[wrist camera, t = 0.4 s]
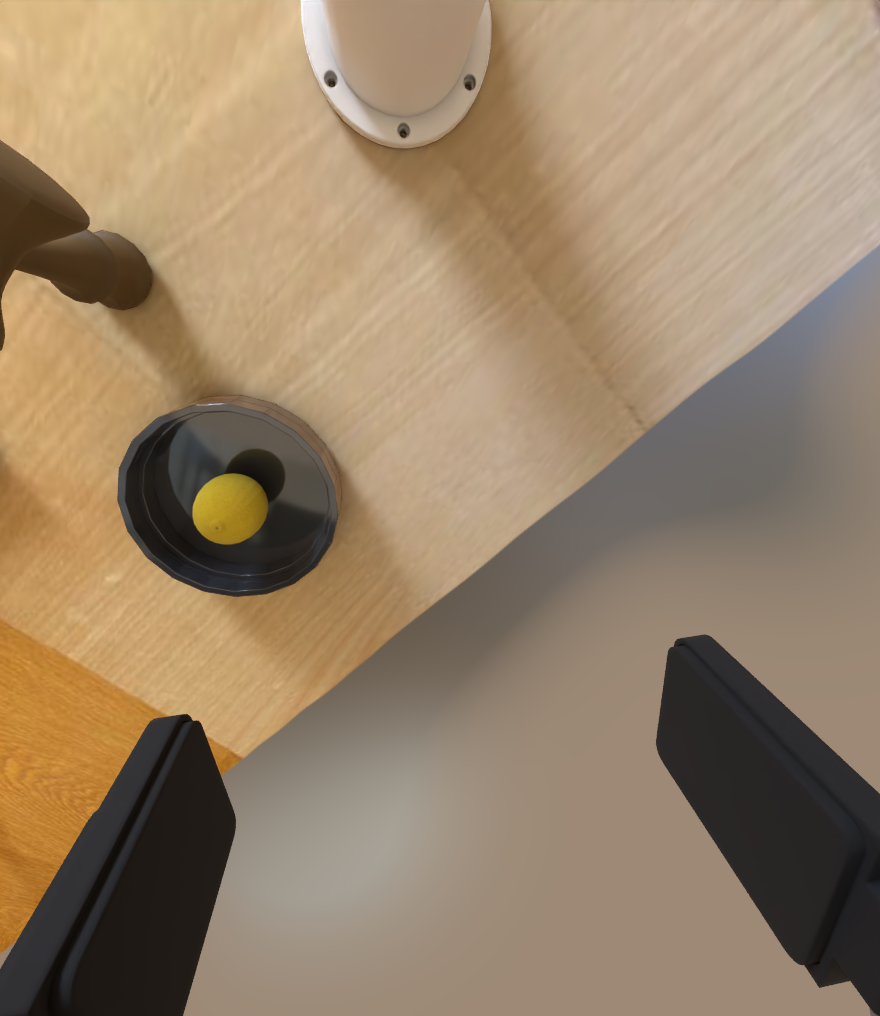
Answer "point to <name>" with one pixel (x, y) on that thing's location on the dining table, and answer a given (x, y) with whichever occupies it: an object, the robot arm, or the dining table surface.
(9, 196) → the kendama
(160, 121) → the dining table surface
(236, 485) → the lemon
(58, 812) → the dining table surface
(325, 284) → the dining table surface
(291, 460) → the pan
